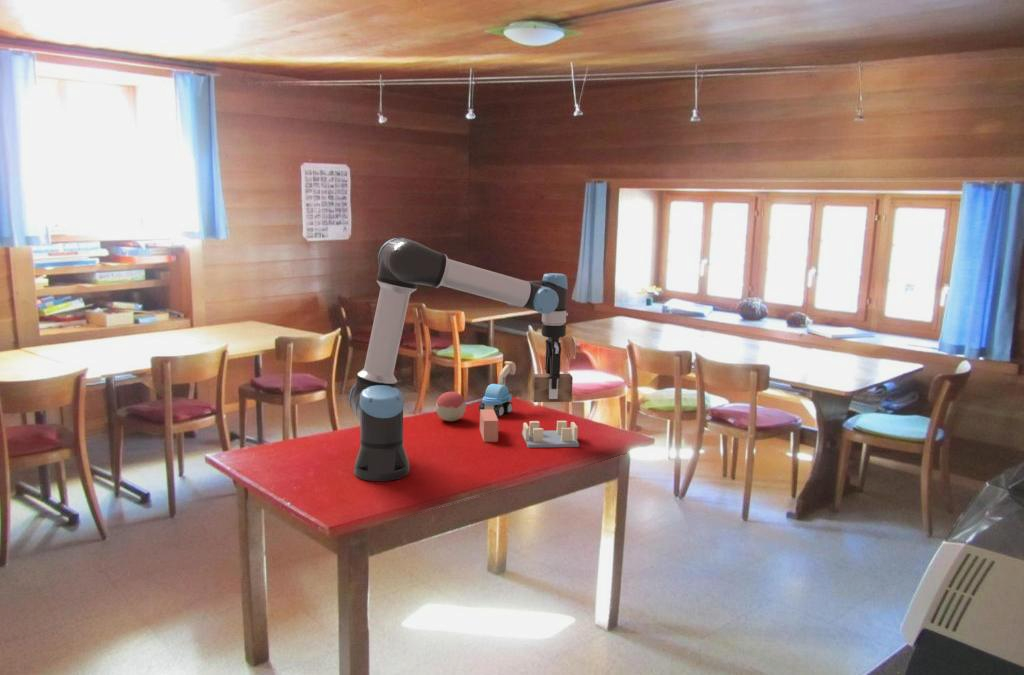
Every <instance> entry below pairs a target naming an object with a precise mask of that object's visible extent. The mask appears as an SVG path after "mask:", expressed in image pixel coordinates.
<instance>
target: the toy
mask: <svg viewBox="0 0 1024 675" xmlns="http://www.w3.org/2000/svg"><path fill="white" fill-rule="evenodd" d="M466 409H467V406H466V400H465V398H464V397H463V396H462V395H461V394H460V393H459V392H457V391H447V392H444V393H442V394H441V395H440V396H439V397H438V398H437V400H436V404H435V410H436V413H437V416H438V417H439V418H440V419H442V420H443V421H447V422H455V421H458V420H460V419H462V418H463V416H464V414H465V412H466Z"/></svg>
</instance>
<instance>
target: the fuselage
mask: <svg viewBox="0 0 1024 675" xmlns="http://www.w3.org/2000/svg"><path fill="white" fill-rule="evenodd" d="M548 377H550V374H547V373H532V375H531V379H532V380H531V400H532V401H533V403H570V402H571V403H572V402H573V377H574V376H573V375H571V373H560V378H558V399H549V379H548Z"/></svg>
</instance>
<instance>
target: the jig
mask: <svg viewBox="0 0 1024 675" xmlns="http://www.w3.org/2000/svg"><path fill="white" fill-rule="evenodd" d="M528 424H529V425H528ZM578 431H579V427H578V425H577V424H576V423H575V422H574V421H571V422H570V427H568V421H567V420H556V430H552V429H551V430H544V428H543V427H540V421H538V420H531V421H529V423H527V422H523V423H522V431H521V435H522V437H523V440H524V441H525V444H526V446H527V448H533V449H534V448H575V447H576V448H579V447H580V443H579V442H578V433H579V432H578Z"/></svg>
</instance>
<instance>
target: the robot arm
mask: <svg viewBox="0 0 1024 675" xmlns="http://www.w3.org/2000/svg"><path fill="white" fill-rule="evenodd" d="M377 262H378V266H379V268H378V273H377V276H376V277H377V278H376V283H377V285H378V286H379V287H380V289H379V294H378V299H377V302H376V303H377V304H376V309H375V314H374V319H373V321H372V322H373V324H372V328H371V333H370V338H369V342H368V348H367V352H366V358H365V362H364V367H363V369H361V370H360V371H358V372H357V374H356V379H355V383H354V385H353V386H352V387H351V389H350V392H349V398H348V399H349V400H348V401H349V405H350V408H351V410H352V412H353V414H354V415H355V416H356V418H357V419H358V420H359V422H360V424H359V425H360V426H359V428H360V447H359V450H358V452H357V453H358V454H357V455H356V458H355V463H354V466H353V467H354V469H353V470H354V471H353V472H354V473H353V474H354V475H355V477H357V478H358V479H361V480H365V481H369V482H370V481H371V482H389V481H396V480H399V479H402V478H405V477H406V476H408V475H409V474H410V461H409V458H408V455H407V453H406V450H405V447H404V407H405V404H404V403H405V402H404V401H405V400H404V395H403V394H402V391H401V390H400V389H398V388H397V383H398V380H397V378H396V377H395V375H394V371H395V368H396V362H397V359H398V353H399V349H400V343H401V340H402V336H403V329H404V325H405V322H406V321H405V320H406V315H407V310H408V306H409V301H410V298H411V294H412V293H414V292H416V291H417V290H418V285H422V286H427V287H428V286H429V287H431V288H436V289H438V288H439V287H441V286H443V287H446V288H450V289H453V290H457V291H461V292H464V293H468V294H472V295H475V296H479V297H483V298H487V299H491V300H493V301H496V302H497V301H498V302H501V303H506V304H507V305H508V306H510V307H520V308H523V309H526V310H530V311H534V312H536V313H539V314H541V322H542V323H541V336H543V337H546V338H547V339H545V362H544V363H545V365H544V366H545V367H544V369H545V374H550V377H548V379H549V399H558V378H560V374H561V355H562V354H561V353H562V347H561V346H562V345H561V342H560V340H559V339H560V338H563V337H566V334H567V333H566V332H567V325H566V323H567V317H568V316H569V313H568V312H567V306H568V304H567V302H568V301H567V300H568V290H569V289H568V288H569V287H568V277H567V275H566V274H564V273H556V272H554V273H553V272H549V273H544V274H543V277H542V279H541V280H523V279H520V278H517V277H513V276H509V275H507V274H506V275H505V274H504V273H503V274H502V273H499V272H495V271H492V270H489V269H484V268H481V267H477V266H475V265H471V264H467V263H463V262H461V261H456V260H455V259H454V260H453V259H450V258H449V257H448V256H447V254H446V253H442V252H439V251H437V250H434V249H431V248H429V247H428V246H425V245H423V244H421V243H419V242H418V241H414V240H412V239H408V238H404V237H396V238H392V239H389V240H388V241H387V240H386V242H385V243H384V244H383V245H382V246H381V247H380V250H379V252H378V256H377Z"/></svg>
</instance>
